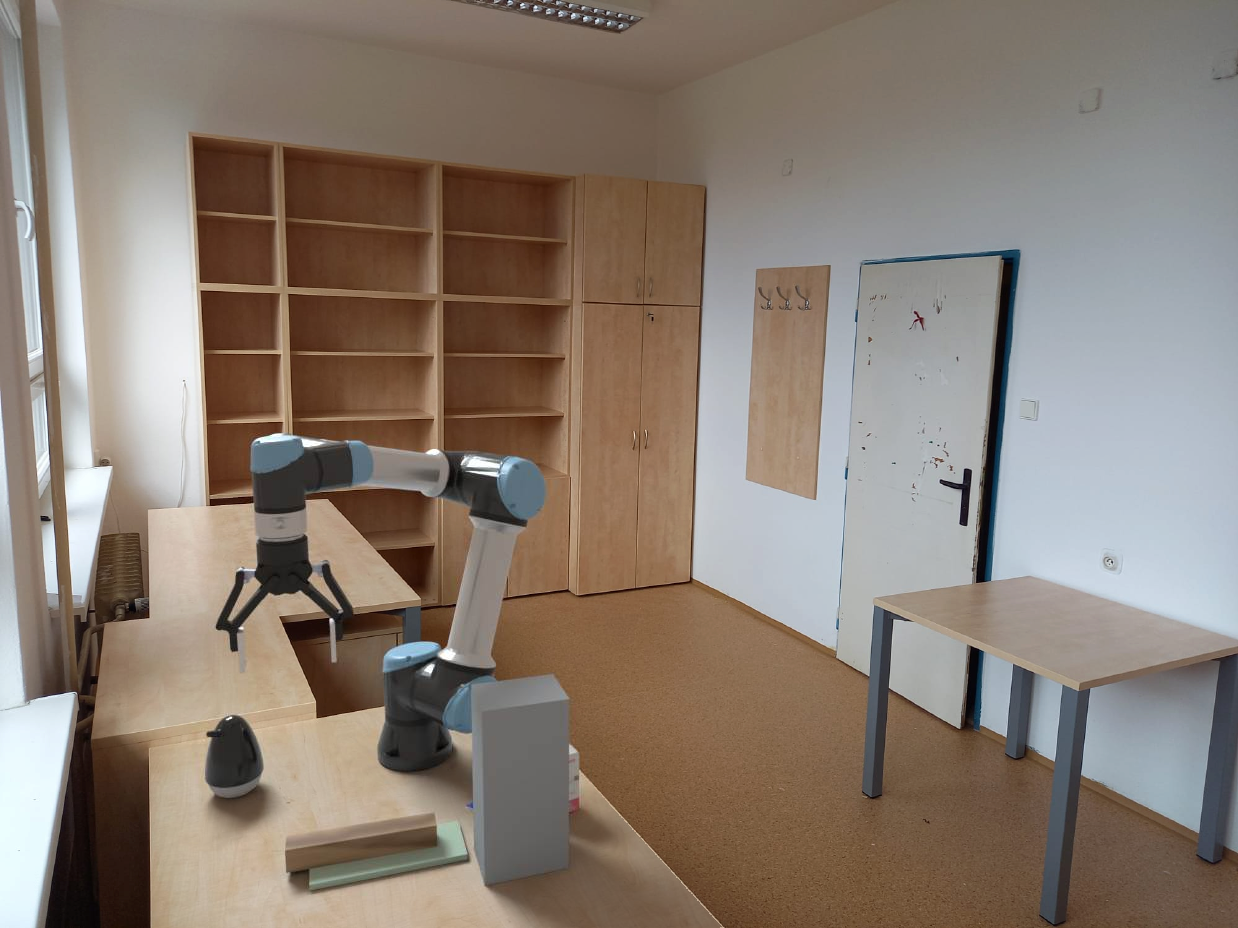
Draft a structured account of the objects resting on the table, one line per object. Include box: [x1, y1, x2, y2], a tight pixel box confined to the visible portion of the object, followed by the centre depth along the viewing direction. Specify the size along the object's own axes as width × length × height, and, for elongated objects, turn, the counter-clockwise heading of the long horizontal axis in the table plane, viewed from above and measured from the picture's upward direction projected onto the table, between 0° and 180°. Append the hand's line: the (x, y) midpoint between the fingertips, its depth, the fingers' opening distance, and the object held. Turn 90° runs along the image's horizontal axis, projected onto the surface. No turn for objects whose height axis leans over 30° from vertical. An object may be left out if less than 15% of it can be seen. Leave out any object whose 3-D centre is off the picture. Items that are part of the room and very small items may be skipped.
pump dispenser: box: [204, 714, 265, 799], centre depth 161 cm, size 10×10×15 cm
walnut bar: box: [284, 812, 437, 874], centre depth 143 cm, size 4×24×4 cm, turn 108°
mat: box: [308, 820, 469, 891], centre depth 143 cm, size 10×25×1 cm, turn 109°
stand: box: [471, 673, 570, 886], centre depth 141 cm, size 10×14×30 cm
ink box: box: [569, 742, 580, 813], centre depth 157 cm, size 9×5×12 cm, turn 118°
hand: (289, 664), depth 136 cm, fingers open, 13 cm apart
